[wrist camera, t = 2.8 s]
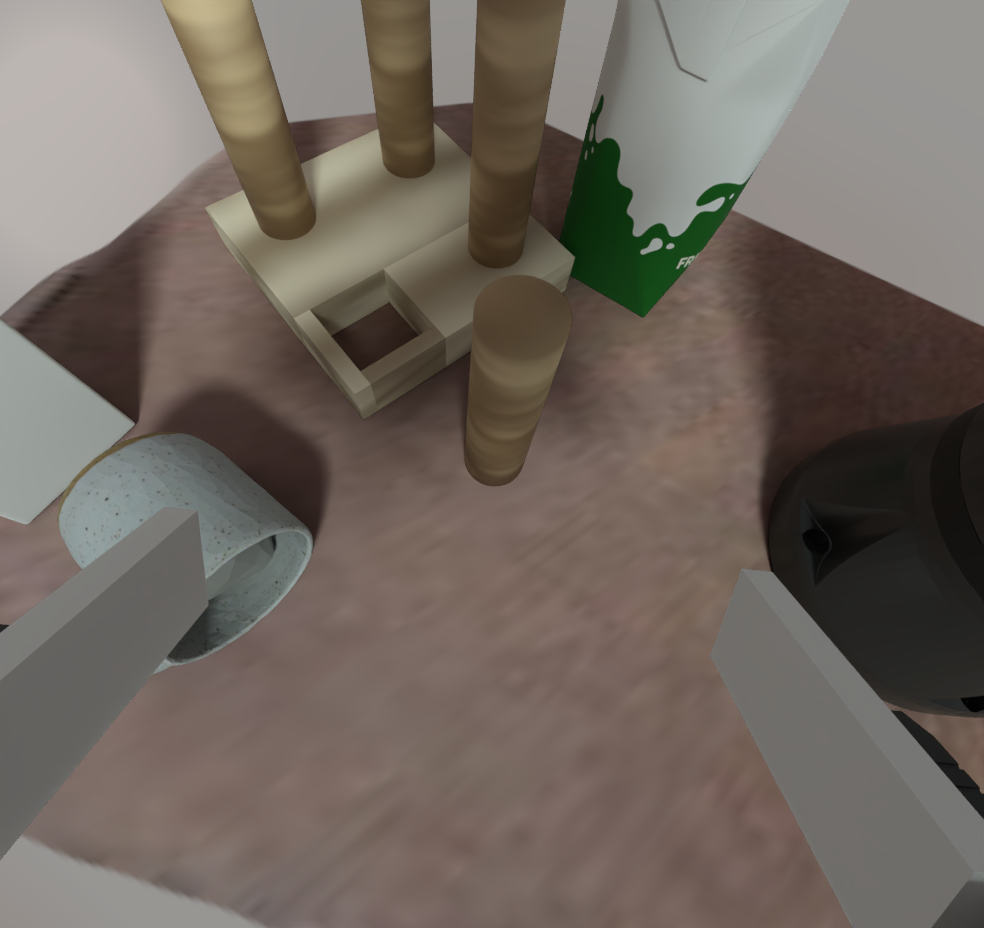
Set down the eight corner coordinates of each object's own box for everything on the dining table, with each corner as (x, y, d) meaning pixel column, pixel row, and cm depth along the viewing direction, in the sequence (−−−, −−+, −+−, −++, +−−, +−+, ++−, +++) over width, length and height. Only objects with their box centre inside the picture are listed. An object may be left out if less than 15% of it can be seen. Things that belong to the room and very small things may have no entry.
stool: (565, 290, 34) (650, 5, 20) (363, 419, 30) (277, 175, 15) (422, 150, 38) (404, -177, 24) (225, 245, 34) (47, -86, 19)
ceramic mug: (226, 455, 29) (148, 387, 21) (332, 549, 27) (286, 509, 20) (55, 608, 25) (-105, 588, 18) (165, 725, 24) (38, 752, 17)
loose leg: (535, 463, 30) (592, 323, 18) (489, 497, 29) (517, 374, 17) (498, 421, 30) (528, 259, 18) (452, 453, 30) (453, 304, 17)
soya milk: (598, 194, 38) (737, -256, 19) (706, 254, 37) (968, -171, 18) (534, 268, 35) (628, -183, 16) (650, 336, 34) (894, -73, 15)
